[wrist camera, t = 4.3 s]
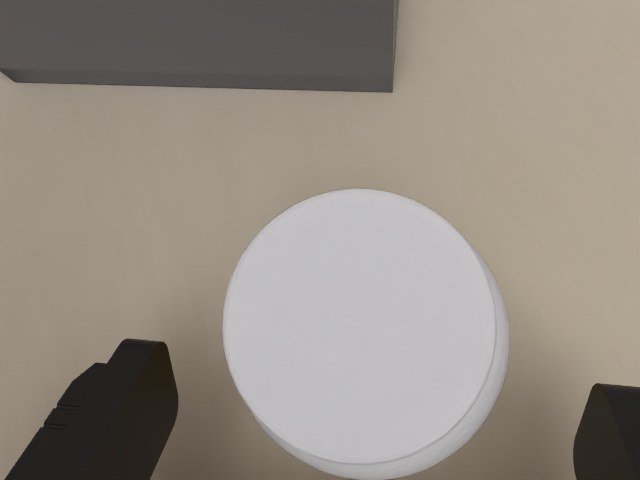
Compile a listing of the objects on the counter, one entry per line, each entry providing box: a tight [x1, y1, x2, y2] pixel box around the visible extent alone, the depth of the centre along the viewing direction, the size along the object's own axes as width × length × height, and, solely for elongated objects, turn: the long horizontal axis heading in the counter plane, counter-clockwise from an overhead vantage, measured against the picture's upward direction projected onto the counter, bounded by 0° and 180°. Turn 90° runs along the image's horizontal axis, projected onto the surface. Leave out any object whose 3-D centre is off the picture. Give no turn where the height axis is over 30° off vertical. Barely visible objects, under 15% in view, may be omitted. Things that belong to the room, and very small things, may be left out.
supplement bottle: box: [222, 188, 510, 480], centre depth 13 cm, size 5×5×10 cm
